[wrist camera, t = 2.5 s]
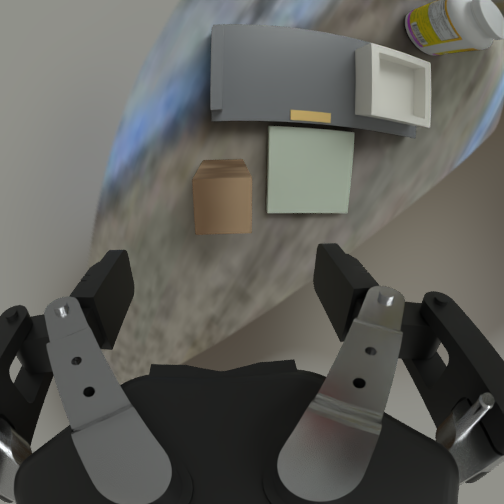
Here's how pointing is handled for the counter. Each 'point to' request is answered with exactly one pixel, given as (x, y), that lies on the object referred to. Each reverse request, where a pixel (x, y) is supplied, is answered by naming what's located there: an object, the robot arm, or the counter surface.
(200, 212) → the peg
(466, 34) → the supplement bottle
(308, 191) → the tool rest
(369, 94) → the tab
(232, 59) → the switch panel
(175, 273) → the counter surface
